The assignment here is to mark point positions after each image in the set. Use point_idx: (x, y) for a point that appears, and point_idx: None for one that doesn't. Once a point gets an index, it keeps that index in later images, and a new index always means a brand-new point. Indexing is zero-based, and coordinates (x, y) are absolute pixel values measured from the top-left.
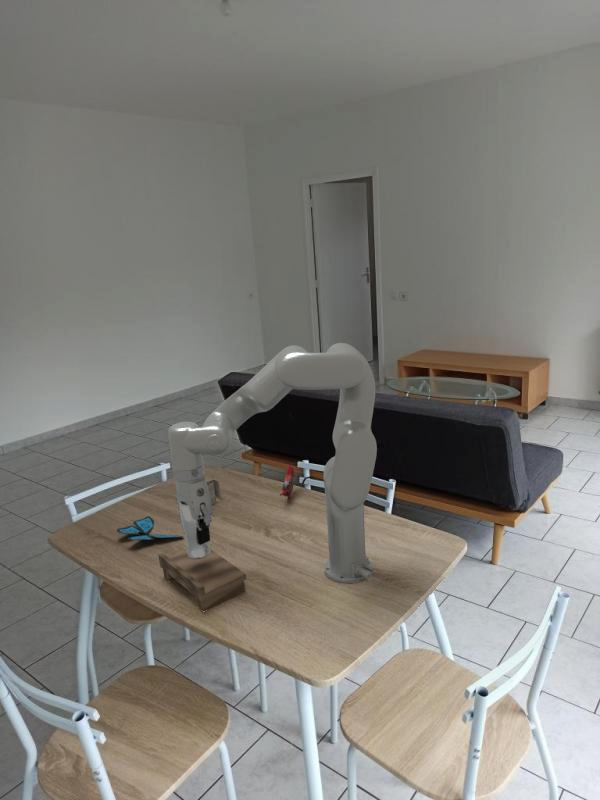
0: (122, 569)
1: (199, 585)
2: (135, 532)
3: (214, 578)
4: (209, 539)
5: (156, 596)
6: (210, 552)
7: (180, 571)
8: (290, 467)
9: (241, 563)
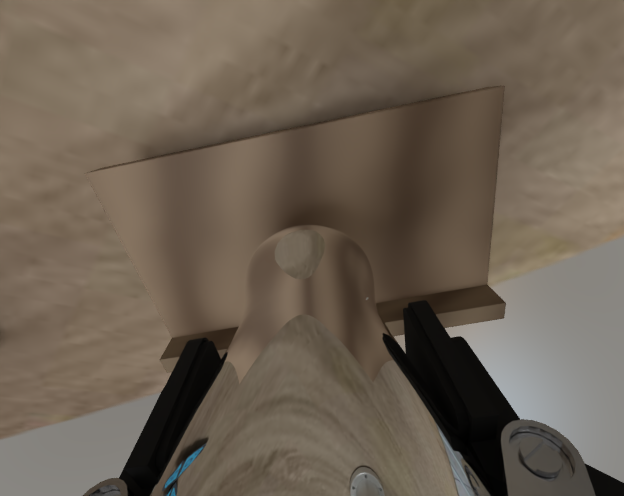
0: (108, 375)
1: (484, 313)
2: None
3: (425, 226)
4: (429, 308)
5: None
6: (347, 235)
7: None
8: None
9: (243, 14)
